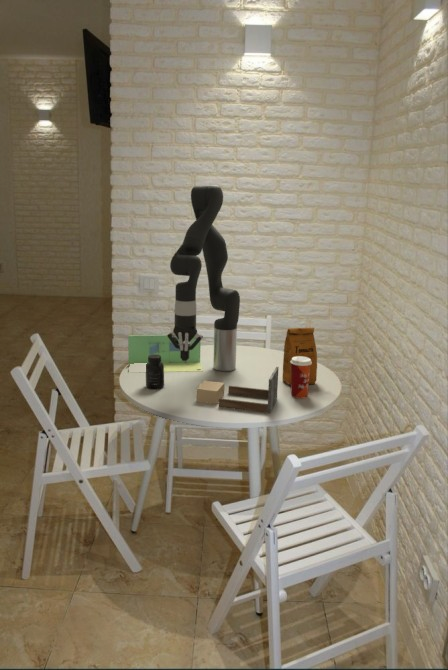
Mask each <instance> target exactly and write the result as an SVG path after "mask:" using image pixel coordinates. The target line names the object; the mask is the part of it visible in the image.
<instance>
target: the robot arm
mask: <svg viewBox="0 0 448 670" xmlns="http://www.w3.org/2000/svg"><path fill="white" fill-rule="evenodd" d="M190 200H191V201H190V202H191V207H192V209H193V213H194V216H195V217H194V218H195V221H194V222H193V223H192V224H191V225H190V226H189V228H188V229H187V231H186V233H185V235H184V238H183V241H182V244H181V245H180V246H179V247H178V249H177V250H176V252H175V253H174V254H173V255H172V257H171V260H170V263H169V265H170V266H169V268H170V270H171V273H172V274H173V275H175V276H181V277H182V276H185V277H188V280H186V281H181V282H178V283H176V285H175V301H174V302H175V303H174V308H173V309H174V310H173V311H174V328H173V329H172V331H171V332H169V333H168V334H166V335H167V336H168V338H169V339H170V341H171V342H172V343H173V345H174V346H175V348H178V349H180V351H181V359H182V361H187V360H188V359H189V351H190V350H192V349H193V348H195V346H196V345H197V344H198V343H199V342H200V343H201V341H202V339H203V338H204V337H203V335H201V334H199V333H198V329H197V300H196V299H197V287H198V281H199V278H200V274H201V271H202V265H203V264H202V259H200V257H199V255H200V254H201V253H202V254H203V258H204V263H205V268H206V275H207V280H208V281H207V282H208V292H209V293H208V294H209V302H210V304H211V307H212V309H214V310H217V311H220V312H224V314H223V317H221V318H218V319H217V318H216V319H215V320H214V322H213V323H214V324H213V327H214V328H213V364H212V367H213V369H214V370H216V371H220V372H231V371H234V370H236V365H237V339H238V338H237V337H238V336H237V334H238V333H237V331H238V330H237V329H238V322H239V318H240V306H241V297H240V296H241V295H240V294H239V293H240V292H239V291H238V290H237V289H233V288H232V289H231V288H228V287H227V288H226V287H224V286H223V282H222V281H223V280H222V275H223V273H224V270H225V267H226V264H227V262H228V258H229V254H228V249H227V244H226V240H225V239H224V237H223V235H222V234H221V233H220V232H219V230H218V229H217V228H216V227H215V225H214V222H215V220H216V218H217V216H218V214H219V212H220V211H221V209H222V206H223V203H224V192H223V189H222V188H221V186H219V185H217V184H205V185H195V186H193V187H192V188H191V192H190ZM175 335H176V337H177V338H178V339H179V342H178V340H177V339H176V337H175ZM200 335H201V336H200ZM194 336H195V342H194V343H193V344H192V345H191V346H190V343H191V340H192V339H193V338H194Z"/></svg>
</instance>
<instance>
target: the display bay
mask: <svg viewBox="0 0 448 670" xmlns="http://www.w3.org/2000/svg"><path fill="white" fill-rule="evenodd" d="M279 369H280V368H279V366H276V367H275V368H274V370H273V372H272V374H271V375H270V377H269V378H268V387H267V389H263V388H255V387H253V388H252V387H246V386H237V385H235V386H234V385H228V391H227V392H228V395H235V396H243V397H252V398H260V399H267V403H263V402H255V401H248V400H247V401H246V400H238V399H229V398H223V397H222V398H219V402H218V408H221V409H229V410H230V409H232V410H239V411H245V412H246V411H248V412H254V413H255V412H256V413H264V414H271V411H272V410H273V407H274V406H275V403H276V402H277V399H278V387H279V386H278V385H279Z"/></svg>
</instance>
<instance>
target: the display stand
mask: <svg viewBox="0 0 448 670" xmlns="http://www.w3.org/2000/svg"><path fill="white" fill-rule="evenodd" d="M167 335H168V334H157V335H156V334H153V335H151V334H144V335H143V334H141V335H140V334H138V335H137V334H136V335H133V334H132V335H127V341H128V343H127V344H128V346H127V349H128V366H129V365H130V364H134V363H148V356H149V355H160V356H161V362H162V363H163V365H164V373H180V372H181V373H183V372H184V373H191V372H192V373H193V372H195V373H196V372H203V371H204V370H203V367H202V363H201V341H200V342H199V343H198V344H197V345H196V346H195V348H193V349H192V350H190V351H189V359H188V360H187V361H182V359H181V351H180V349H178V348H175V346H174V345H173V343H172V342H171V341H170V339H169V338H168V336H167ZM199 335H200V336H201V334H199ZM175 337H176V335H175ZM176 339H177V340H178V342H179V339H178V338H177V337H176ZM194 342H195V336H194V338H193V339H192V340H191V343H190V346H191V345H192V344H193V343H194ZM128 366H127V367H128Z"/></svg>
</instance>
